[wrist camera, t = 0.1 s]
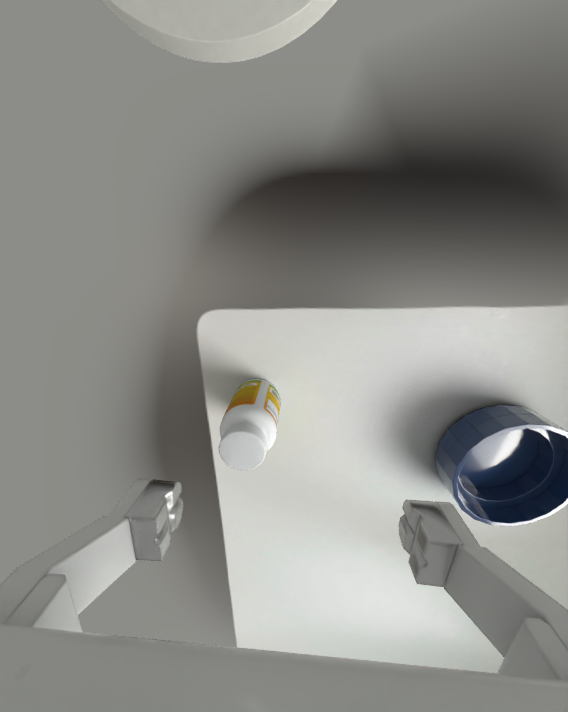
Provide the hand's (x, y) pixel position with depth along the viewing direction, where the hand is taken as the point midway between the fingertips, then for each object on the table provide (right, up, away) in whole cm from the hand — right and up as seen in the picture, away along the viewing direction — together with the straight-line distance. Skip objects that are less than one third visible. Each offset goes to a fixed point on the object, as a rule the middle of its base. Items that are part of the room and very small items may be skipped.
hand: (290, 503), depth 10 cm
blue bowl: (+24, -6, +23) cm, 34 cm away
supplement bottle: (-3, 0, +22) cm, 22 cm away
